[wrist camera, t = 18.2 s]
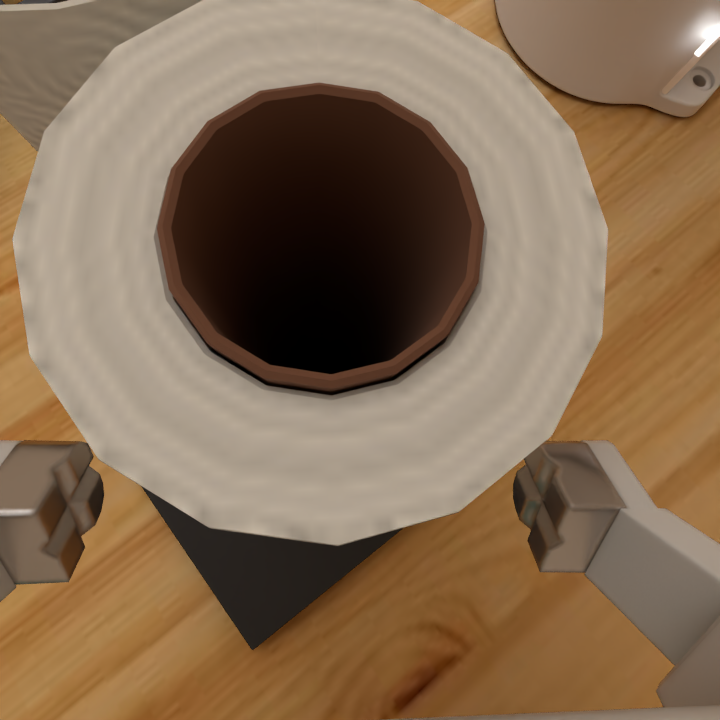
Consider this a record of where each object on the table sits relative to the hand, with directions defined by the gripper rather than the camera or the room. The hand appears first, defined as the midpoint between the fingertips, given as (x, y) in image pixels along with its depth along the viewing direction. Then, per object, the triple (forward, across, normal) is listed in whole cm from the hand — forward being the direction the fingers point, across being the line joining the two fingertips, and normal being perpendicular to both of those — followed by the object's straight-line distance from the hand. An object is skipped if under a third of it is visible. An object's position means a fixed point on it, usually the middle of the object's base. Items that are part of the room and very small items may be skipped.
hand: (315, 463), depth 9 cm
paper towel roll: (+14, 0, +10) cm, 17 cm away
